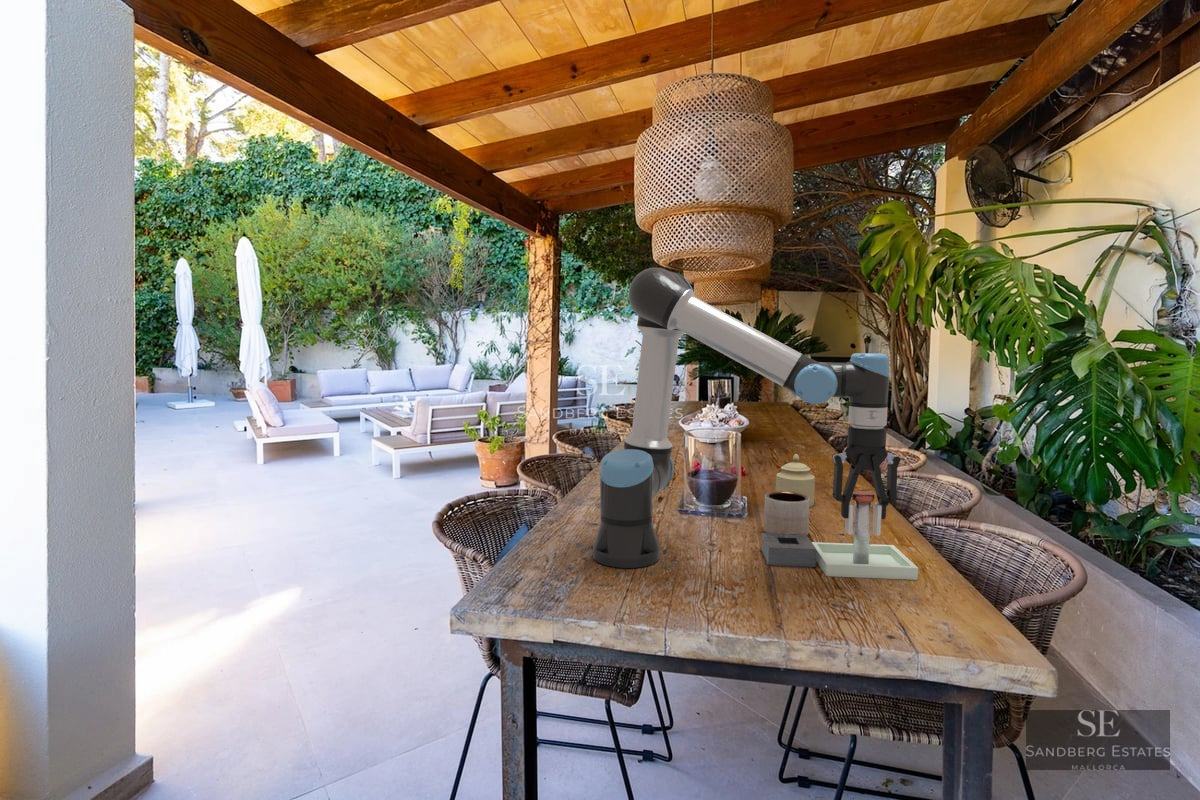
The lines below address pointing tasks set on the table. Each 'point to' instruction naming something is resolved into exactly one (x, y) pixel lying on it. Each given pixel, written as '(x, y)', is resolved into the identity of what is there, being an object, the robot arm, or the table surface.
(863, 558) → the red capped tube
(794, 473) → the sugar bowl
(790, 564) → the block
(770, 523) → the planter
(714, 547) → the table surface
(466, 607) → the table surface
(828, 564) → the tray
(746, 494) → the table surface
